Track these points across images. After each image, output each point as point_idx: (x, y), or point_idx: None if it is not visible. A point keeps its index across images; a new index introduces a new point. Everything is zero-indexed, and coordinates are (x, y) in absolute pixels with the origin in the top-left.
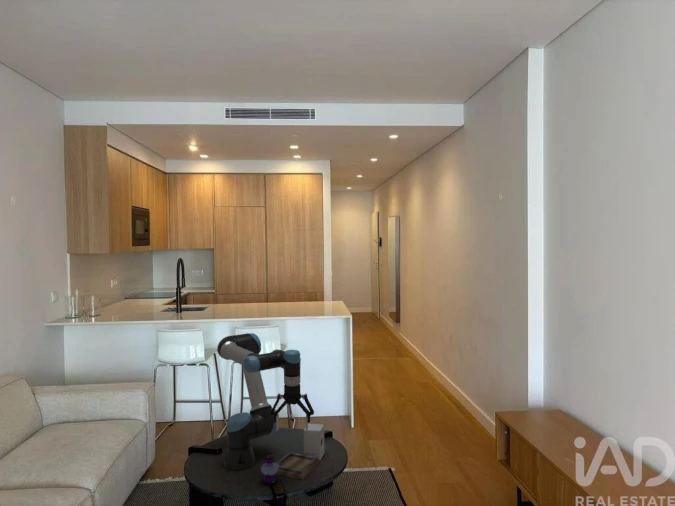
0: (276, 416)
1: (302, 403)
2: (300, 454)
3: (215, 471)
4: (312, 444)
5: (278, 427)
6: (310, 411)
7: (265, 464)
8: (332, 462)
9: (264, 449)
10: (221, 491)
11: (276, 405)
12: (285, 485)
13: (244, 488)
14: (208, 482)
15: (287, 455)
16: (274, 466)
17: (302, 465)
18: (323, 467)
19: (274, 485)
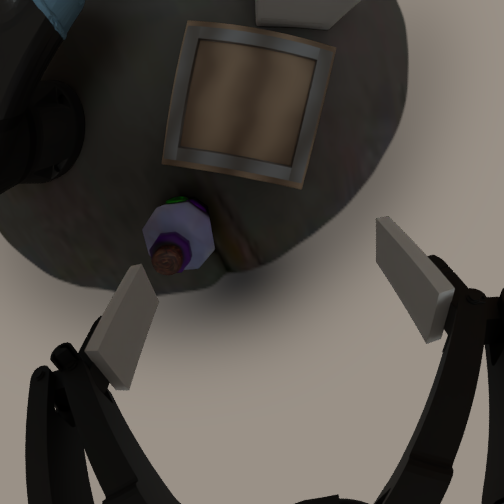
0: (116, 389)
1: (460, 442)
2: (246, 35)
3: (24, 200)
4: (307, 9)
5: (144, 284)
6: (490, 366)
7: (156, 237)
8: (377, 45)
9: None
10: (96, 287)
11: (86, 484)
12: (250, 229)
13: None
14: (45, 254)
15: (189, 56)
16: (198, 246)
17: (279, 109)
18: (354, 83)
19: (213, 235)
